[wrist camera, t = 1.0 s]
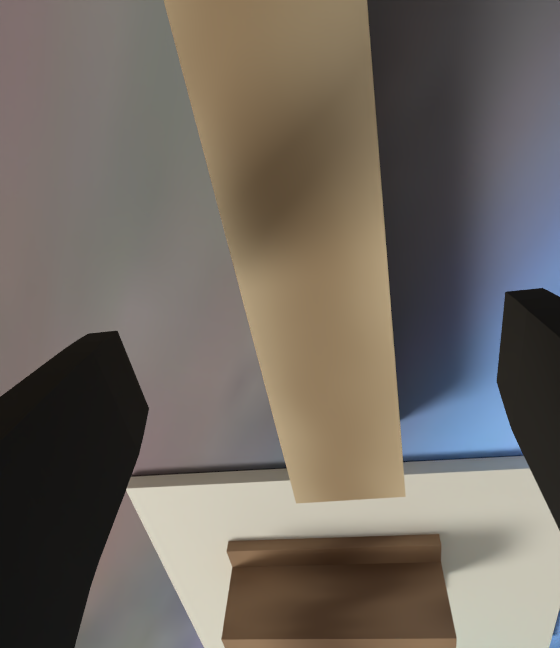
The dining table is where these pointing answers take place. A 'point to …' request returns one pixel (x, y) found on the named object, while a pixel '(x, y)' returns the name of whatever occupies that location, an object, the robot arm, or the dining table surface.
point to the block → (338, 593)
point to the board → (373, 520)
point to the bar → (303, 225)
